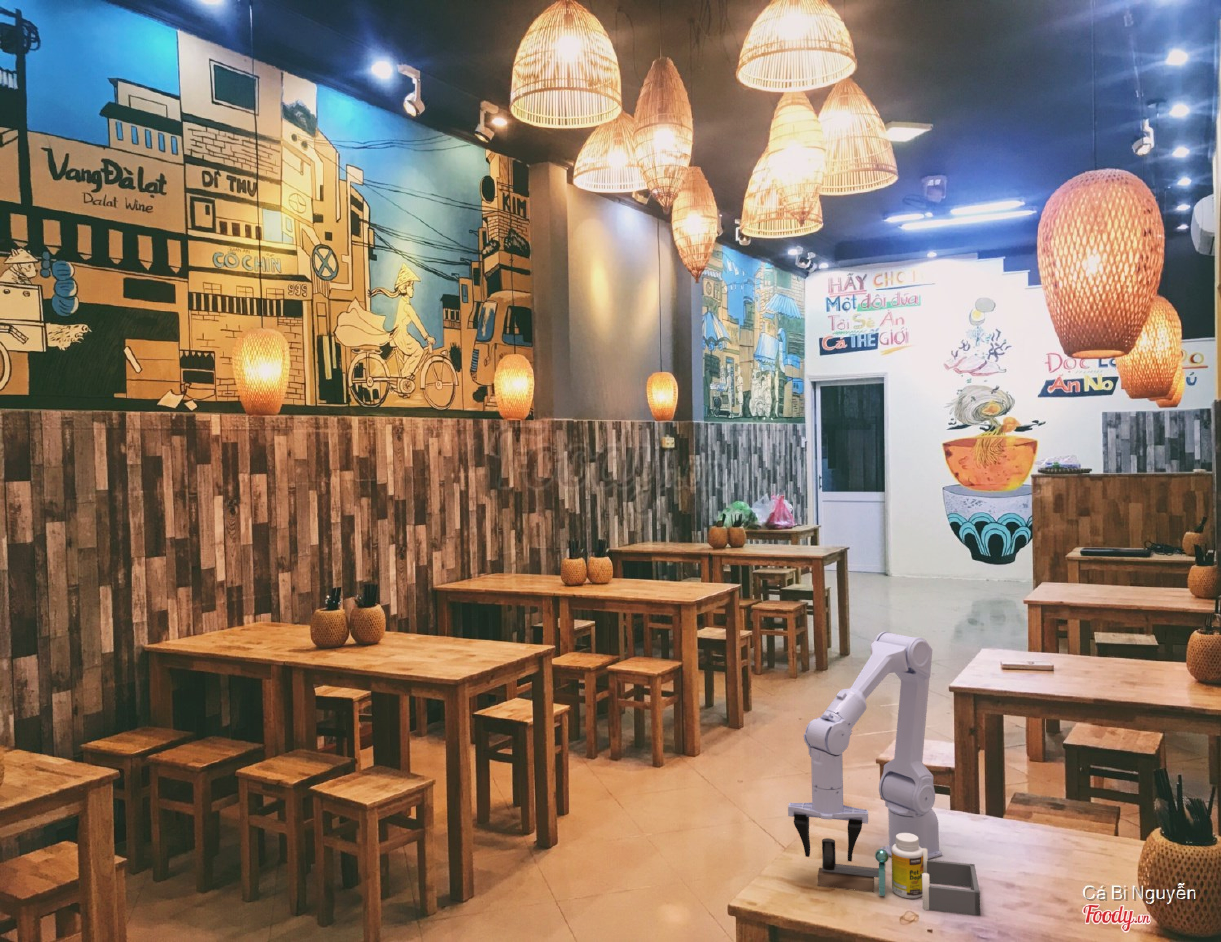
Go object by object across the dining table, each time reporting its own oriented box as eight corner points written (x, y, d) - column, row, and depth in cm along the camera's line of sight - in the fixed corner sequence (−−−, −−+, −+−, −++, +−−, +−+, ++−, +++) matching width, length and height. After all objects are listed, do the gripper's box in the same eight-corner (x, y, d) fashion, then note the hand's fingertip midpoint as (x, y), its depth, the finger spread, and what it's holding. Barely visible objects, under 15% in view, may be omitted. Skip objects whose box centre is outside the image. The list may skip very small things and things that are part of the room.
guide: (817, 886, 169) (817, 874, 169) (819, 878, 172) (819, 867, 172) (873, 892, 166) (873, 880, 166) (874, 885, 169) (873, 873, 169)
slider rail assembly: (821, 888, 167) (820, 848, 167) (824, 872, 174) (823, 833, 174) (889, 896, 164) (888, 854, 164) (889, 879, 170) (888, 839, 170)
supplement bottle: (910, 903, 162) (909, 845, 162) (885, 891, 167) (884, 835, 167) (930, 894, 165) (929, 838, 165) (905, 883, 170) (904, 828, 170)
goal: (922, 909, 159) (922, 875, 159) (921, 879, 171) (920, 847, 171) (980, 916, 157) (979, 881, 157) (974, 885, 168) (974, 853, 168)
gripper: (785, 788, 168) (787, 861, 168) (866, 795, 164) (868, 870, 164) (789, 775, 175) (791, 846, 175) (868, 782, 171) (869, 854, 171)
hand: (828, 857), depth 170 cm, fingers open, 7 cm apart
